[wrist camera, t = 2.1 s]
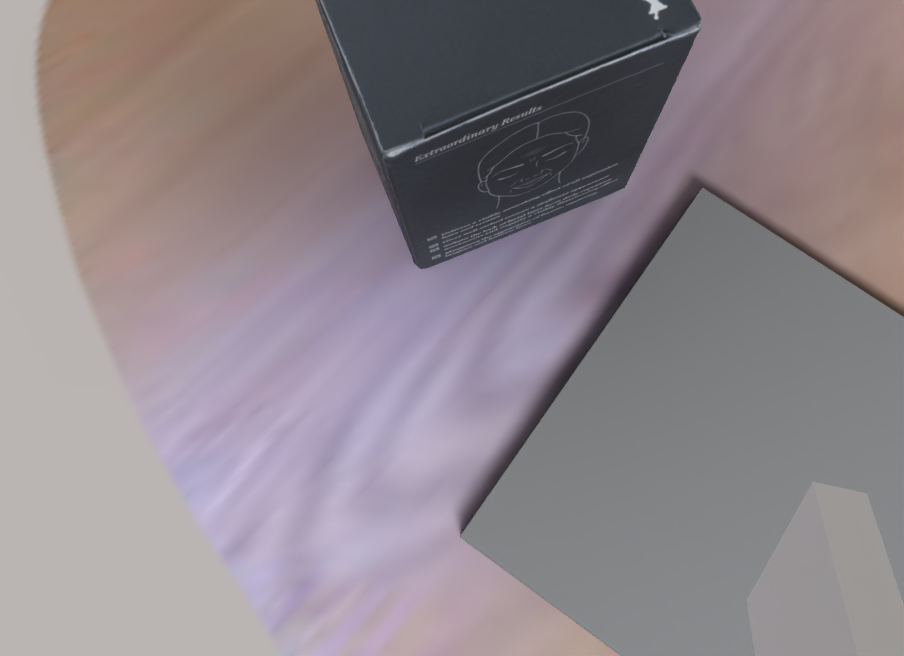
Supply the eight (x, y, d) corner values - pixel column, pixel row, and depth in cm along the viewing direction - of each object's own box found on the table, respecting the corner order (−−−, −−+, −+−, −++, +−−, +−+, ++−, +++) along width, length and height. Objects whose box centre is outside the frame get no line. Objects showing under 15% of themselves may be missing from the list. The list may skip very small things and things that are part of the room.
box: (562, 51, 29) (609, -179, 19) (627, 191, 28) (714, 29, 18) (357, 131, 29) (292, -58, 19) (416, 275, 28) (382, 160, 18)
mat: (1092, 451, 26) (1111, 450, 26) (866, 834, 25) (879, 846, 24) (696, 195, 28) (702, 187, 28) (460, 535, 27) (459, 536, 26)
